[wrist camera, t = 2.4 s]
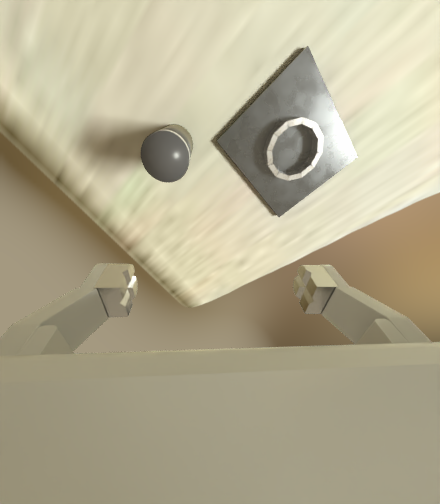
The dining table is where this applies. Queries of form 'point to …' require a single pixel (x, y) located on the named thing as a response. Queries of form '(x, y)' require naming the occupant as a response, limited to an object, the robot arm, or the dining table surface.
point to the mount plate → (290, 136)
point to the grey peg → (167, 153)
